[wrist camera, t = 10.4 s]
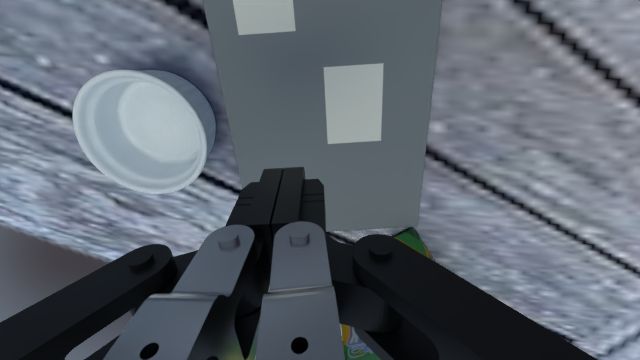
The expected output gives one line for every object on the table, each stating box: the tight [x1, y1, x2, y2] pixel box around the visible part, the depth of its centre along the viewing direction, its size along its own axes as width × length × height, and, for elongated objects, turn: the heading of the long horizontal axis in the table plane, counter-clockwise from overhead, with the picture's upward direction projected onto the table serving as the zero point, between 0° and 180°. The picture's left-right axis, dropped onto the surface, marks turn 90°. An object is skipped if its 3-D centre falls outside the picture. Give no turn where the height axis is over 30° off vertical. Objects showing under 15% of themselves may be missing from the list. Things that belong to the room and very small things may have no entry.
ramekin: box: [73, 69, 216, 194], centre depth 22 cm, size 9×9×4 cm
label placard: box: [203, 0, 442, 232], centre depth 23 cm, size 24×16×1 cm, turn 4°
